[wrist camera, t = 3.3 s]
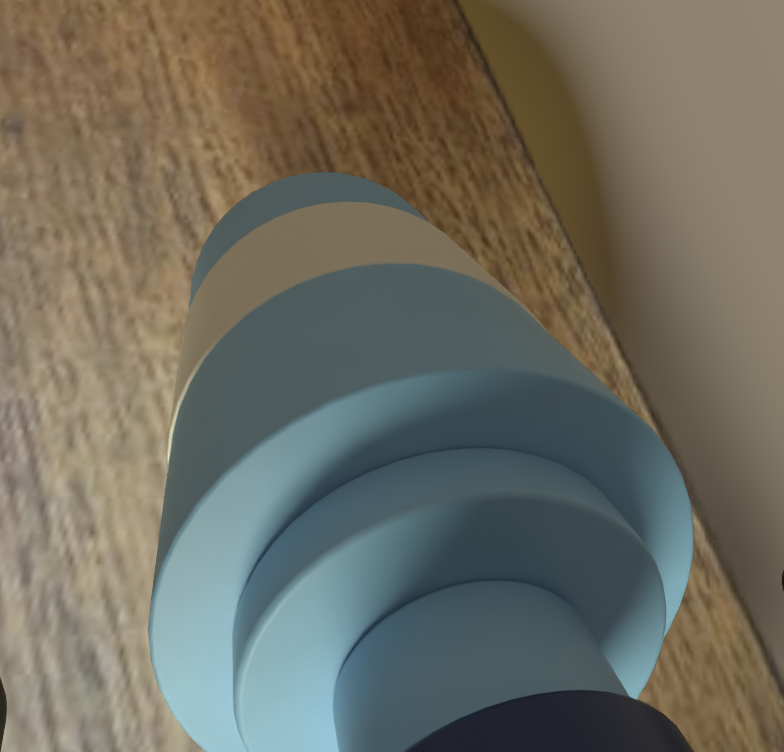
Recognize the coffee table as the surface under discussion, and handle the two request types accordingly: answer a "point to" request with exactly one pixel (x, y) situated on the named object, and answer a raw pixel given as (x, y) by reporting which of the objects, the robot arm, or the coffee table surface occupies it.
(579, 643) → the bottle
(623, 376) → the coffee table surface
